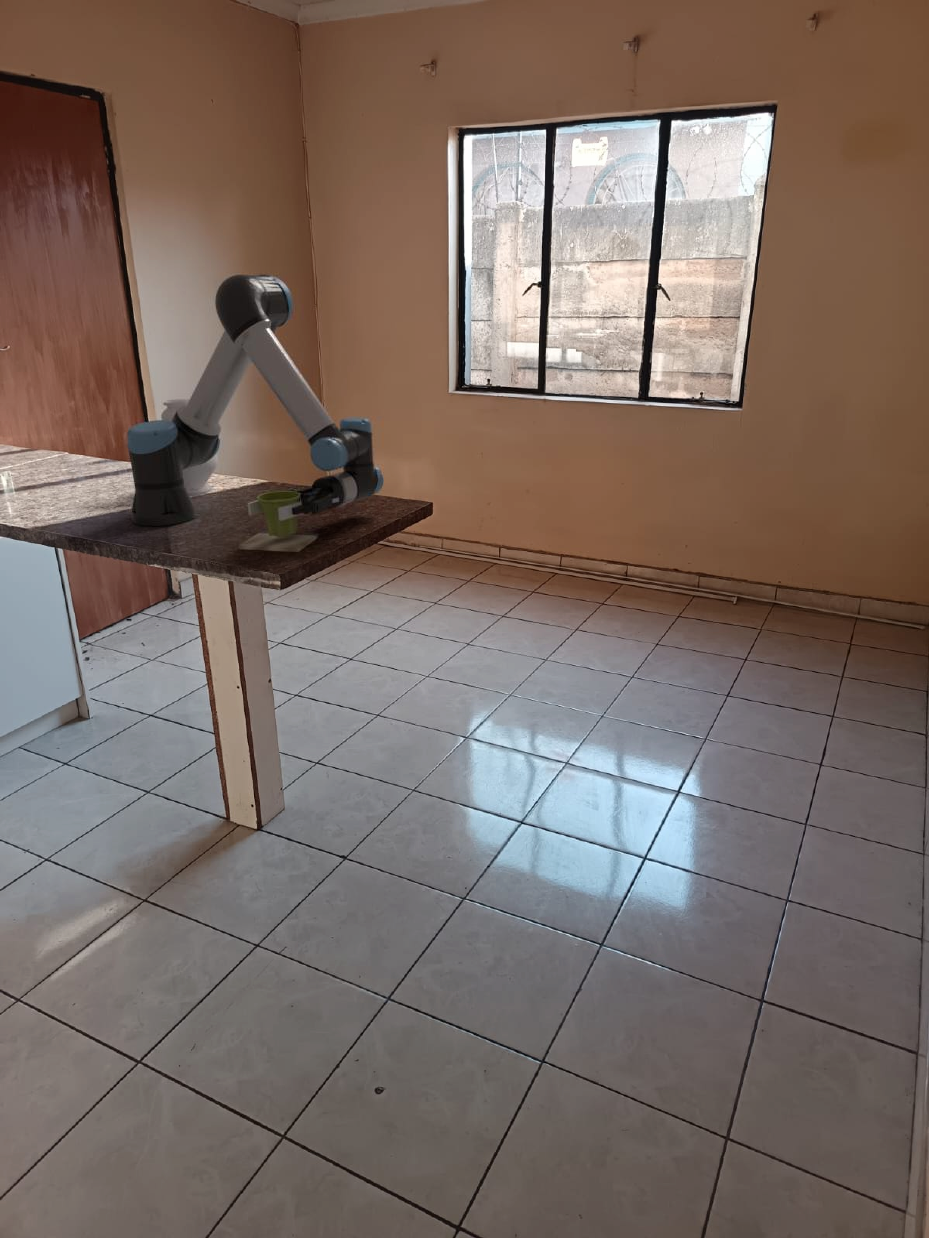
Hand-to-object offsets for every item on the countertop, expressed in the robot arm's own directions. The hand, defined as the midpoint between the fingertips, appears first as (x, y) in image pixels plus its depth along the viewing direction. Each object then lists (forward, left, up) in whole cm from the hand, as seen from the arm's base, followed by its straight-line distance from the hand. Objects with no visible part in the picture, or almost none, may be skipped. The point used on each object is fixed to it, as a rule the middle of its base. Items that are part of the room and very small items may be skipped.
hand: (264, 511), depth 187 cm
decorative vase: (-48, +50, -9) cm, 70 cm away
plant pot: (+2, +4, -6) cm, 8 cm away
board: (0, +5, -8) cm, 10 cm away
